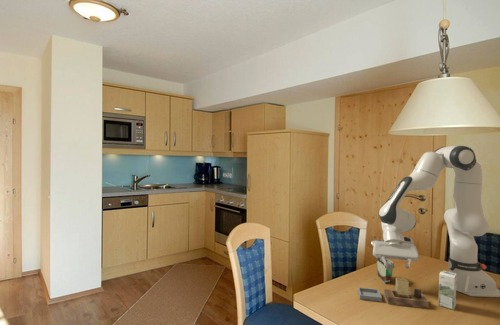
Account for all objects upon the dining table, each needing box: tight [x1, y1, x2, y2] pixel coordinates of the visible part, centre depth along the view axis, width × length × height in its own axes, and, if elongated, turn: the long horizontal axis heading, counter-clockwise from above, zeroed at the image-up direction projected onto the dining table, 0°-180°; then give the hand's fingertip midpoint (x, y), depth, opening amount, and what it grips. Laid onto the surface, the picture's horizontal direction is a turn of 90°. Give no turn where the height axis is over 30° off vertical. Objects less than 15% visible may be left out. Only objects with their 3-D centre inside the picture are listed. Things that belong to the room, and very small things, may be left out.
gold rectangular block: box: [394, 277, 410, 298], centre depth 131 cm, size 4×4×10 cm
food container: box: [376, 257, 395, 284], centre depth 153 cm, size 12×6×10 cm, turn 179°
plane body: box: [383, 288, 429, 310], centre depth 130 cm, size 16×8×6 cm, turn 76°
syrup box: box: [438, 270, 457, 311], centre depth 127 cm, size 6×6×14 cm
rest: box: [357, 286, 383, 303], centre depth 135 cm, size 9×8×2 cm
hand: (397, 266), depth 138 cm, fingers open, 8 cm apart
